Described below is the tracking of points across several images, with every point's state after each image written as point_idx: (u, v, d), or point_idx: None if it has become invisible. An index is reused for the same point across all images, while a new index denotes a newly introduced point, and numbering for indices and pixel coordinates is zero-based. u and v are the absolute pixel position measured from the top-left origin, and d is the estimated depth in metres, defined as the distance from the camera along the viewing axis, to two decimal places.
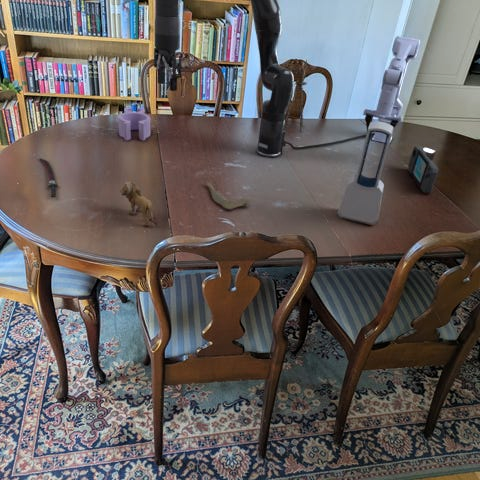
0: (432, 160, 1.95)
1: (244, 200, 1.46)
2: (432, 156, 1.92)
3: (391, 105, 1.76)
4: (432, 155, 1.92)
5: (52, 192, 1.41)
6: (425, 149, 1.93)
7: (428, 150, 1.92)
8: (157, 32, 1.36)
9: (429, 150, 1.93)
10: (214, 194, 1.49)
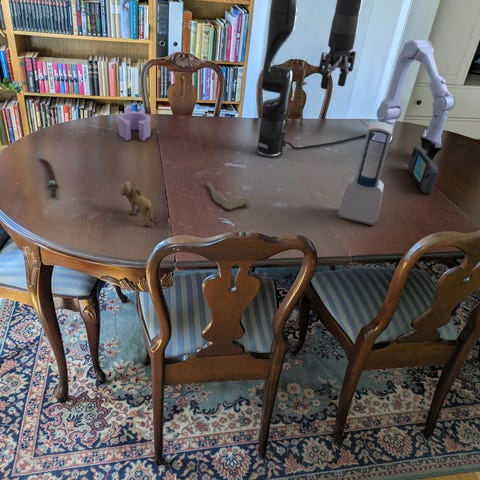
0: (432, 160, 1.95)
1: (244, 200, 1.46)
2: None
3: (434, 128, 1.85)
4: None
5: (52, 192, 1.41)
6: (425, 149, 1.93)
7: None
8: (355, 33, 1.35)
9: None
10: (214, 194, 1.49)
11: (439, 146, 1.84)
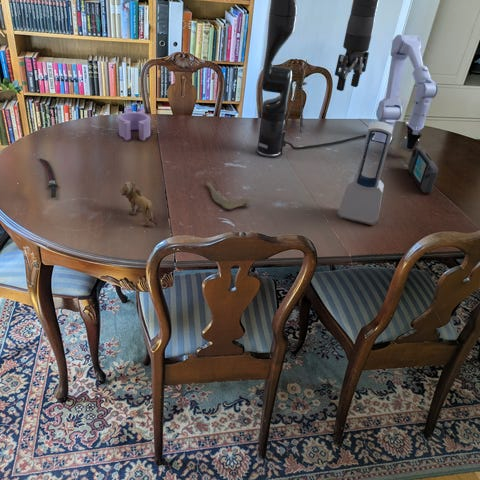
0: None
1: (244, 200, 1.46)
2: (414, 145, 1.90)
3: (415, 115, 1.84)
4: None
5: (52, 192, 1.41)
6: None
7: None
8: (371, 34, 1.35)
9: None
10: (214, 194, 1.49)
11: (416, 133, 1.82)
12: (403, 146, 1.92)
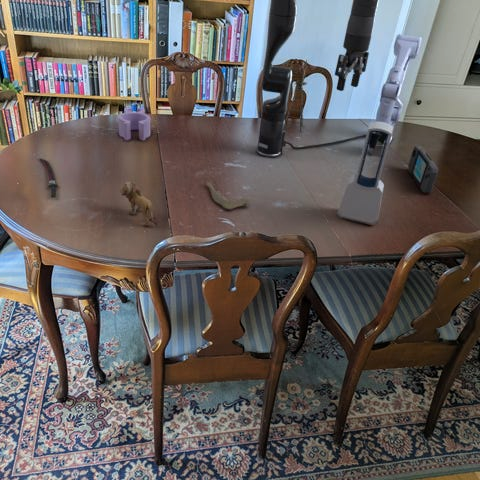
0: (380, 154, 1.95)
1: (244, 200, 1.46)
2: (378, 149, 1.93)
3: (378, 115, 1.87)
4: (377, 148, 1.93)
5: (52, 192, 1.41)
6: None
7: None
8: (371, 34, 1.35)
9: (378, 143, 1.94)
10: (214, 194, 1.49)
11: None
12: (369, 149, 1.96)
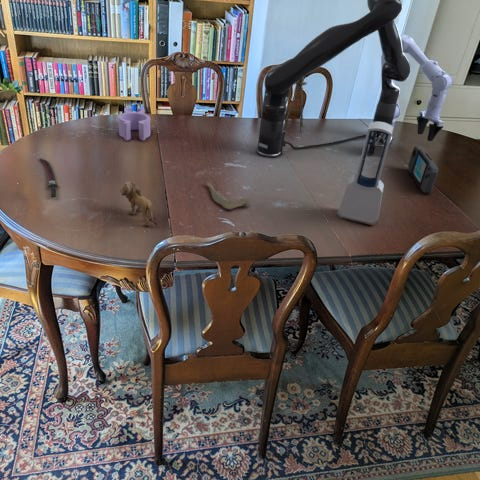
0: (380, 154, 1.95)
1: (244, 200, 1.46)
2: (378, 149, 1.93)
3: (434, 108, 1.88)
4: (377, 148, 1.93)
5: (52, 192, 1.41)
6: None
7: None
8: None
9: (378, 143, 1.94)
10: (214, 194, 1.49)
11: (441, 125, 1.87)
12: None
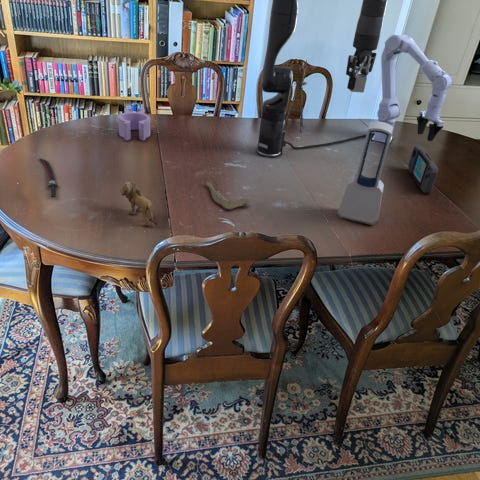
0: (363, 90, 1.50)
1: (244, 200, 1.46)
2: (360, 83, 1.48)
3: (434, 108, 1.88)
4: (359, 81, 1.48)
5: (52, 192, 1.41)
6: None
7: None
8: None
9: (360, 75, 1.49)
10: (214, 194, 1.49)
11: (441, 125, 1.87)
12: None
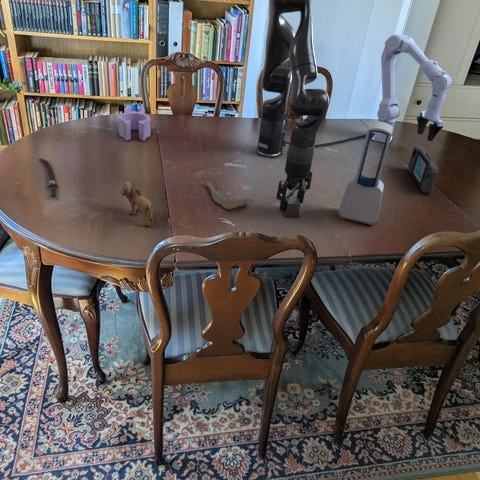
0: None
1: (244, 200, 1.46)
2: (293, 209, 1.43)
3: (434, 108, 1.88)
4: (292, 207, 1.42)
5: (52, 192, 1.41)
6: (291, 198, 1.45)
7: (290, 200, 1.43)
8: (311, 161, 1.35)
9: (294, 200, 1.44)
10: (214, 194, 1.49)
11: (441, 125, 1.87)
12: None
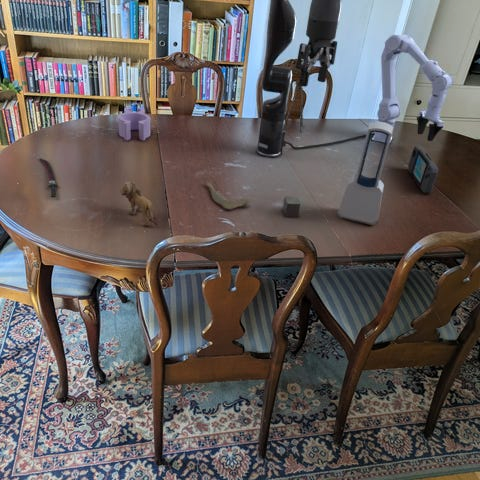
0: None
1: (244, 200, 1.46)
2: (293, 209, 1.43)
3: (434, 108, 1.88)
4: (292, 207, 1.42)
5: (52, 192, 1.41)
6: (291, 198, 1.45)
7: (290, 200, 1.43)
8: (338, 19, 1.14)
9: (294, 200, 1.44)
10: (214, 194, 1.49)
11: (441, 125, 1.87)
12: (283, 208, 1.46)
